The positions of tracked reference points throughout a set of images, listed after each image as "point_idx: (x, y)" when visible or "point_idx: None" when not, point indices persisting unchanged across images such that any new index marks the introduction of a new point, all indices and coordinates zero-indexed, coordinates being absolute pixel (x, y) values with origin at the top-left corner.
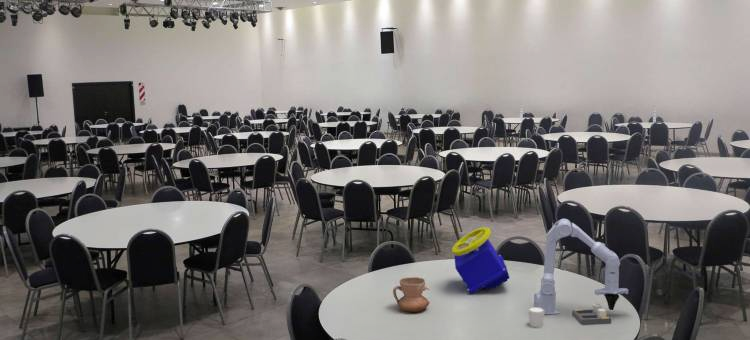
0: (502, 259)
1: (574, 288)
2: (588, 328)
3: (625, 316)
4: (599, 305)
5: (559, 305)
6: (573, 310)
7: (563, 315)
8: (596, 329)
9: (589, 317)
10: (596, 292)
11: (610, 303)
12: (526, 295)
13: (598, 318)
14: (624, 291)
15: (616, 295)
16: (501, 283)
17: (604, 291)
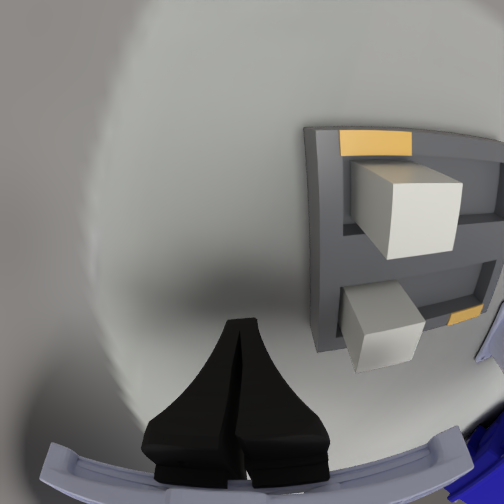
0: (467, 492)
1: None
2: (482, 74)
3: (138, 282)
4: (375, 344)
5: (435, 386)
6: (485, 307)
7: (498, 286)
8: (446, 40)
9: None
10: (467, 453)
11: (267, 364)
12: (455, 420)
13: (435, 143)
14: (72, 478)
15: (180, 457)
16: (491, 432)
17: (391, 502)
